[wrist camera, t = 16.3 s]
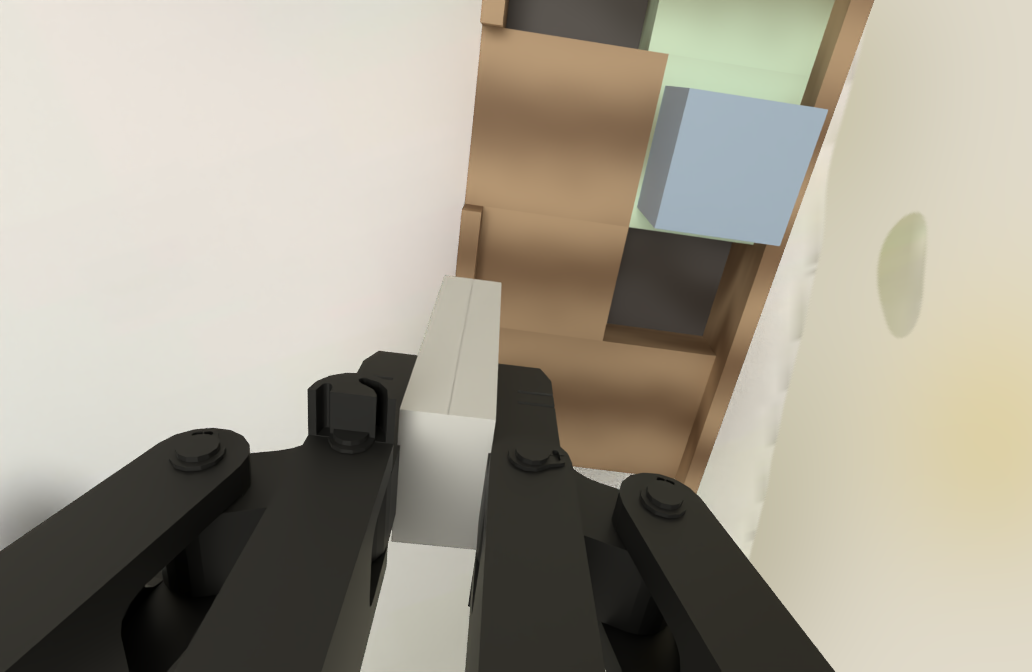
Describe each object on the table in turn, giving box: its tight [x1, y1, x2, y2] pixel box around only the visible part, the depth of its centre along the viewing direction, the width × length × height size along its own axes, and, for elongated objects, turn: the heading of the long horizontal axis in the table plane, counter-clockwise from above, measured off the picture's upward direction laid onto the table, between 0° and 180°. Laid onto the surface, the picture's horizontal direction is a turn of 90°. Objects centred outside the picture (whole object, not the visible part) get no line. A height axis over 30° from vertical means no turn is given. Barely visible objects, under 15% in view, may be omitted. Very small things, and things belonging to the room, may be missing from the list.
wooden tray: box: [455, 0, 874, 493], centre depth 31 cm, size 33×17×4 cm, turn 172°
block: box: [637, 86, 828, 246], centre depth 27 cm, size 6×6×4 cm
